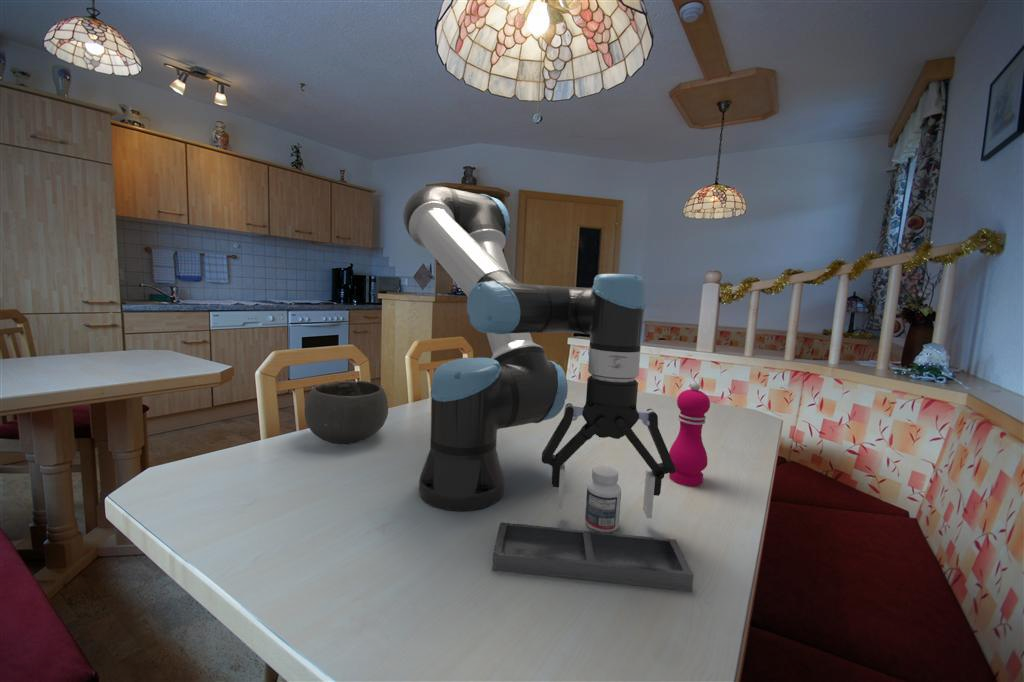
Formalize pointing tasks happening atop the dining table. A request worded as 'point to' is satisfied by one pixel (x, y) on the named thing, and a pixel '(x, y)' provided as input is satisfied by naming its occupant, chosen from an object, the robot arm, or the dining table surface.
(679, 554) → the tray
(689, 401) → the pepper mill
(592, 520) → the pill bottle
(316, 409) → the bowl
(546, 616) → the dining table surface
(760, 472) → the dining table surface
